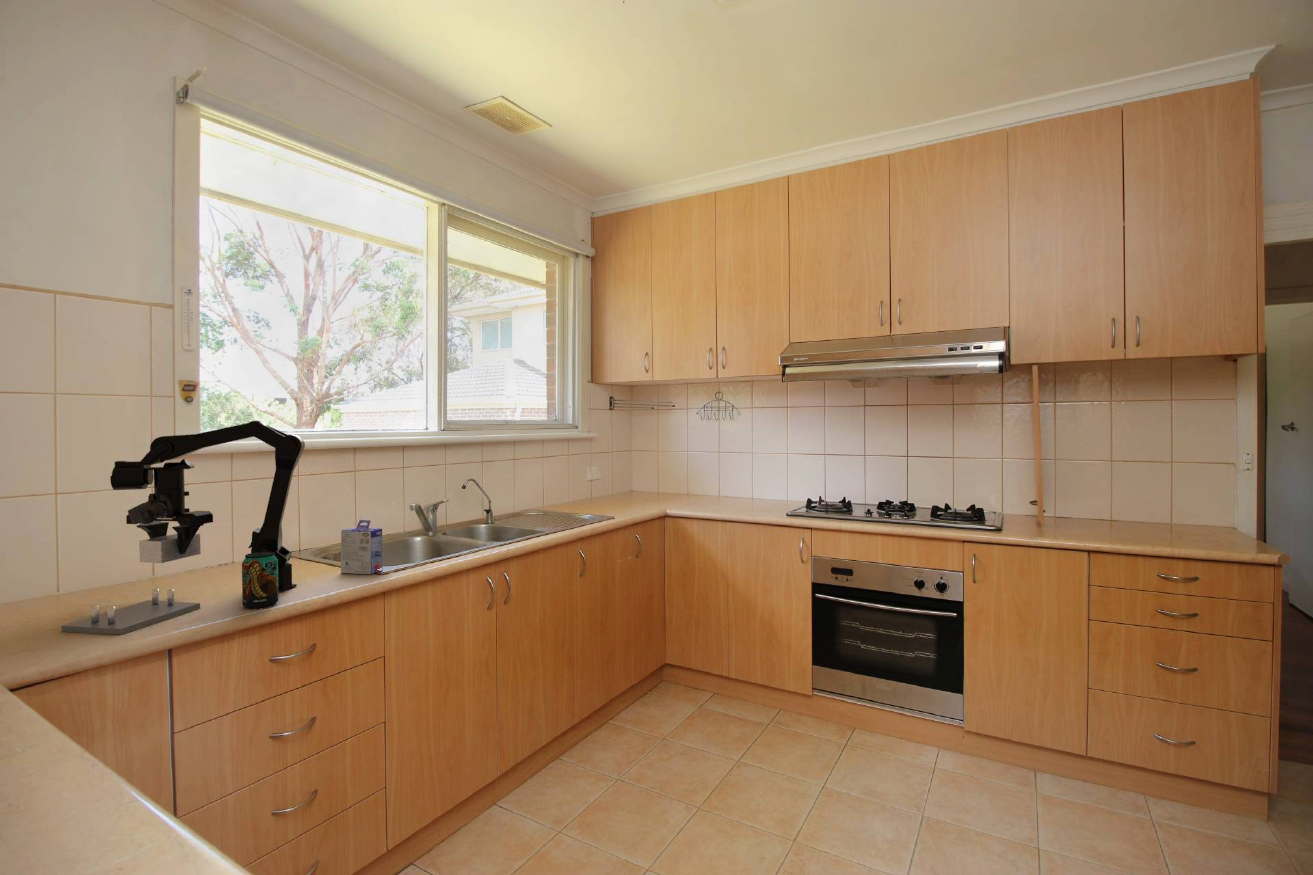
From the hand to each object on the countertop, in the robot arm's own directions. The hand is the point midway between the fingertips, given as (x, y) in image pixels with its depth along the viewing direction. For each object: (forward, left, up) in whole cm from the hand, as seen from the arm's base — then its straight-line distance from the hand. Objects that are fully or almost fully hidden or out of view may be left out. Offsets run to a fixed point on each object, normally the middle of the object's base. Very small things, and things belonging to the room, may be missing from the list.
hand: (170, 553), depth 148 cm
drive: (0, 0, -1) cm, 1 cm away
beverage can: (-25, +1, -11) cm, 28 cm away
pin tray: (-6, +14, -11) cm, 19 cm away
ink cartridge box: (-28, -32, -11) cm, 44 cm away
